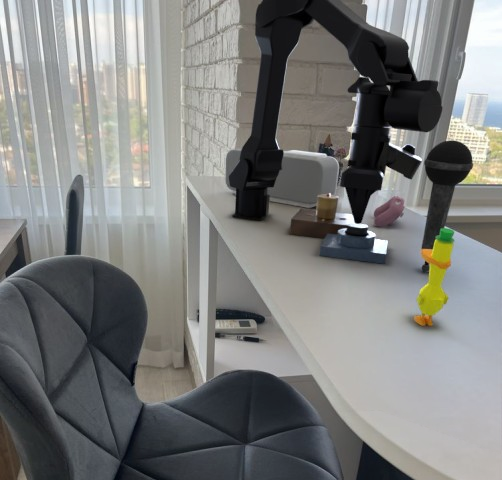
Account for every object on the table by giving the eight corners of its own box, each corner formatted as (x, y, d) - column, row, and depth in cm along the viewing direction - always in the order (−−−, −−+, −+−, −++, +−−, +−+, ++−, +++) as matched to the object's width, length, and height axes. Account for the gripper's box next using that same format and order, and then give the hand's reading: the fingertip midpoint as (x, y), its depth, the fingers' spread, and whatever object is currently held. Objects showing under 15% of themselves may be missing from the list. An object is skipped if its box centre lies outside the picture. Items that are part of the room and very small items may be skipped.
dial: (334, 219, 98) (337, 197, 96) (314, 217, 99) (316, 195, 97) (336, 215, 102) (339, 193, 100) (317, 213, 102) (319, 191, 100)
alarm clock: (335, 204, 126) (341, 154, 121) (318, 210, 119) (324, 157, 114) (243, 188, 139) (245, 143, 134) (224, 193, 132) (225, 145, 127)
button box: (319, 255, 87) (321, 235, 85) (326, 242, 95) (328, 223, 93) (384, 263, 84) (388, 243, 83) (386, 249, 92) (389, 230, 91)
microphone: (424, 281, 78) (455, 143, 69) (394, 267, 83) (418, 137, 74) (456, 276, 81) (489, 143, 72) (425, 263, 86) (452, 137, 77)
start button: (344, 236, 87) (346, 226, 86) (346, 231, 90) (348, 221, 89) (366, 239, 86) (367, 229, 85) (367, 234, 89) (368, 224, 89)
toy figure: (398, 311, 66) (416, 220, 61) (424, 310, 67) (444, 220, 62) (421, 333, 60) (443, 235, 55) (449, 333, 61) (474, 235, 56)
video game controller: (390, 235, 107) (410, 207, 104) (372, 224, 107) (392, 195, 104) (388, 224, 116) (407, 198, 113) (371, 214, 116) (390, 187, 113)
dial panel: (289, 234, 98) (291, 218, 97) (299, 222, 107) (300, 207, 106) (351, 241, 96) (353, 225, 94) (355, 229, 105) (358, 214, 103)
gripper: (426, 134, 71) (405, 243, 77) (422, 126, 87) (405, 217, 94) (346, 128, 73) (333, 234, 80) (357, 122, 89) (345, 210, 96)
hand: (357, 223), depth 87 cm, fingers closed
